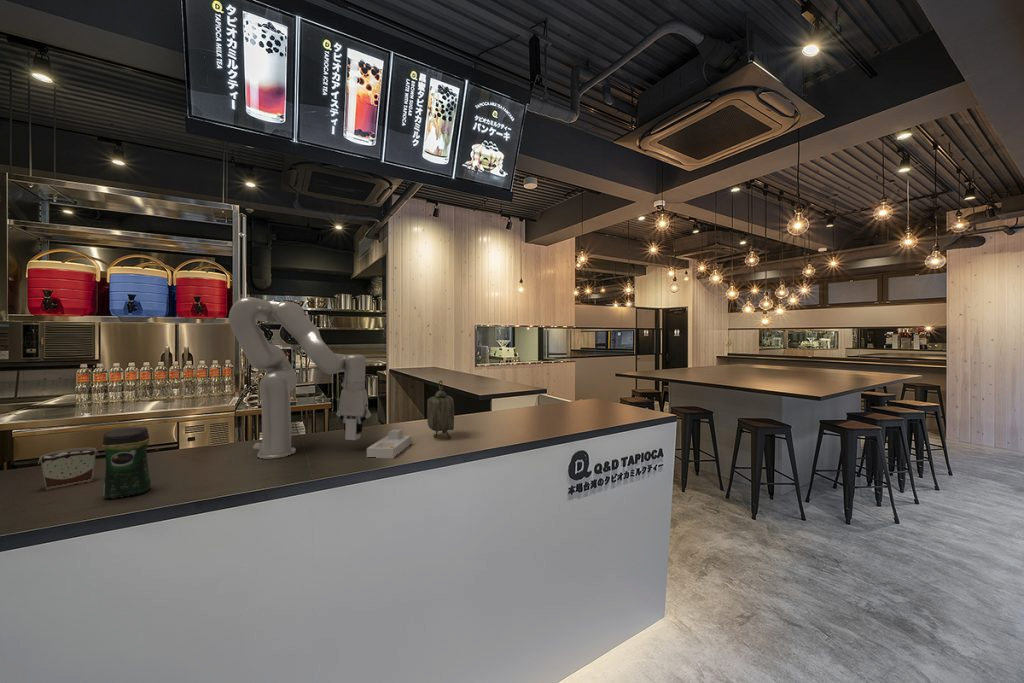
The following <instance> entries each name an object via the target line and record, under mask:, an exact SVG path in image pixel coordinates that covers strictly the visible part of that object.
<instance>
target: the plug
mask: <svg viewBox="0 0 1024 683" xmlns="http://www.w3.org/2000/svg"><path fill="white" fill-rule="evenodd" d="M357 424H358V420H357V416H350V417H349V418H347V419H346V430H345V431H344V437H345V438H344V439H345V440H346V441H347V440H349V441H350V440H351V441H356V440H358V439H360V438H361V434H362V432H361V433H359V434H356V429H357Z"/></svg>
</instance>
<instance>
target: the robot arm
mask: <svg viewBox="0 0 1024 683" xmlns="http://www.w3.org/2000/svg"><path fill="white" fill-rule="evenodd" d="M258 321H259V322H267V323H276V324H280V325H281V326H282V327H283V328H284V329H285V330H286V331H287V332H288V334H290V335H291V336H292V337H293V339H295V341H297V343H298V344H299V345H300V347H301V349H302V351H304V353H305V354H306V356H307V357H308V358H309V359H310V360H311V361H312V362H313V363H314V365H315V366H316V367H318V368H319V370H320V371H322V372H323V373H325V374H328V375H334V374H338V373H343V372H344V382H341V383H340V385H341V386H340V387H343V389H342V390H341V393H340V396H339V402H338V409H337V412H336V414H335V416H337V417H338V418H339V419H340V420H341V421H342V423H343V431H344V432H345V430H346V419H347V418H349V417H352V416H356V417H357V420H358V424H357V429H356V434H359V433H361V434H362V432H363V425H364V422H365V421H366V420H367V419H369V418H370V417H372V414H371V411H370V410H369V400H368V398H369V397H368V393H367V389H366V386H365V384H366V361H367V360H366V356H365V355H363V354H341V353H335V352H333V351H332V350H331V349H330V348H329V346H327V344H326V343H325V341H324V340H323V339H322V336H321V335H320V334H321V333H320V330H319V329H318V327H317V326H316V325H315V324H314V323H313V321H311V320H310V318H308V317H307V316H306V315H305V311H304V309H303V307H302V306H301V305H300V304H298V303H296V302H292V301H289V300H288V301H287V300H285V301H274V300H268V299H261V298H257V297H252V296H246V297H242V298H239V299H238V300H237V301H236V302H235V303H233V305H231V308H230V310H229V314H228V323H229V326H230V328H231V331H232V332H233V335H234V336H235V338H236V340H237V342H238V344H239V345H240V348H241V349H242V352H243V353H244V356H246V359H247V361H248V362H249V364H250V366H251V367H252V368H253V369H255V370H257V371H264V373H265V374H264V375H263V376H262V377H261V379H260V380H259V386H258V387H259V388H258V389H259V396H260V403H261V404H260V406H261V442H256V443H254V445H253V447H252V449H253V450H259V451H258V452H257V453H256V454H257V458H258V457H259V459H262V458H263V459H264V460H265V459H266V460H267V459H268V460H269V459H271V460H272V459H280V458H286V457H289V456H291V454H292V455H294V454H295V453H296V452H297V449H296V447H294V446H293V447H292V422H291V421H292V414H291V413H292V412H291V408H292V405H291V397H290V392H291V391H293V390H294V389H295V388H296V386H297V384H298V377H297V373H296V372H295V370H294V368H293V366H292V364H291V362H290V361H289V359H288V357H287V355H286V354H285V352H284V350H283V349H282V348H280V347H279V346H278V345H276V344H275V345H274V344H270V343H269V341H268V339H267V338H266V336H265V333H264V332H263V330H262V329H261V327H260V326H259V325H258V323H257V322H258ZM288 455H289V456H288Z"/></svg>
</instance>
